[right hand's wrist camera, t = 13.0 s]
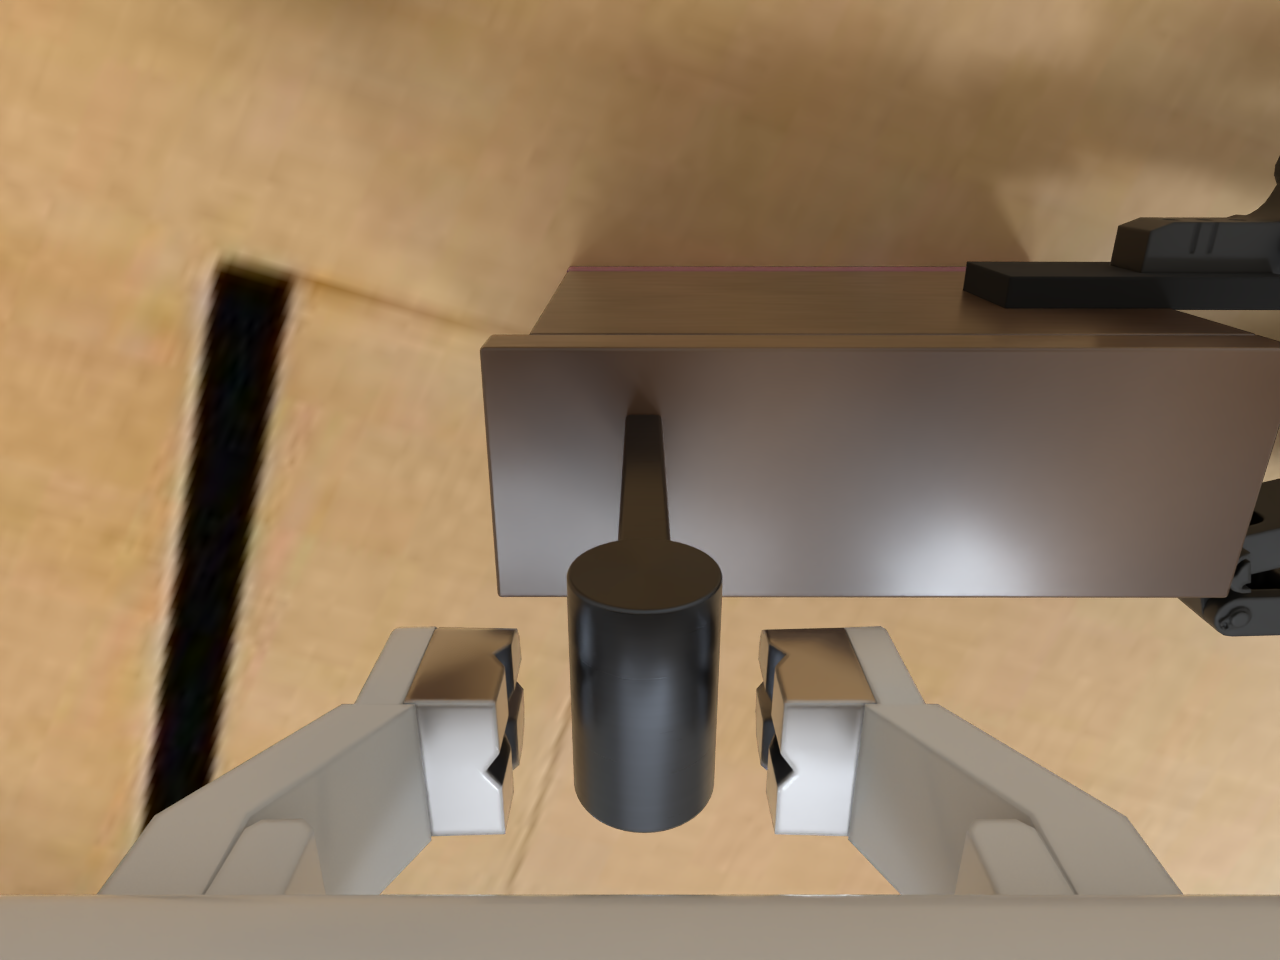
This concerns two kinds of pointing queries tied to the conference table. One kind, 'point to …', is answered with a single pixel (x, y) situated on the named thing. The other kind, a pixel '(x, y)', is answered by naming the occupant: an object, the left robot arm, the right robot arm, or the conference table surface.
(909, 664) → the conference table surface
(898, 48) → the conference table surface
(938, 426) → the lid
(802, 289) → the chest
